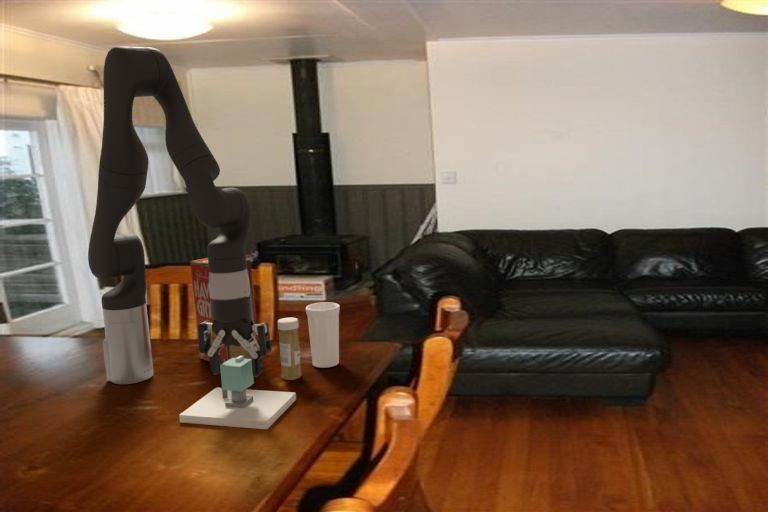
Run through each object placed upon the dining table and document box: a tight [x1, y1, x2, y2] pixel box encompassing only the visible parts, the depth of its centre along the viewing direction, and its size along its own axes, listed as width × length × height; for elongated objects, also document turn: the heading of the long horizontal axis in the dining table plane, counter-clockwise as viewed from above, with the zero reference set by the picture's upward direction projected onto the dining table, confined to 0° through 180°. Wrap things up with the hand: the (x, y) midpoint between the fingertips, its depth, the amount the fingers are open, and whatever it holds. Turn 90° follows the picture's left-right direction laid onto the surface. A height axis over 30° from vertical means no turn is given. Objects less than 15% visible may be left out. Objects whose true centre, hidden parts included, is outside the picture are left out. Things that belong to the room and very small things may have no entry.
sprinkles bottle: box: [277, 317, 302, 381], centre depth 139 cm, size 5×5×13 cm
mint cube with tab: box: [220, 356, 255, 392], centre depth 121 cm, size 4×4×6 cm
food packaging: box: [189, 257, 258, 364], centre depth 153 cm, size 13×9×25 cm
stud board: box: [178, 386, 297, 430], centre depth 122 cm, size 18×14×5 cm
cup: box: [305, 301, 341, 369], centre depth 146 cm, size 8×8×14 cm
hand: (237, 374), depth 121 cm, fingers open, 8 cm apart
